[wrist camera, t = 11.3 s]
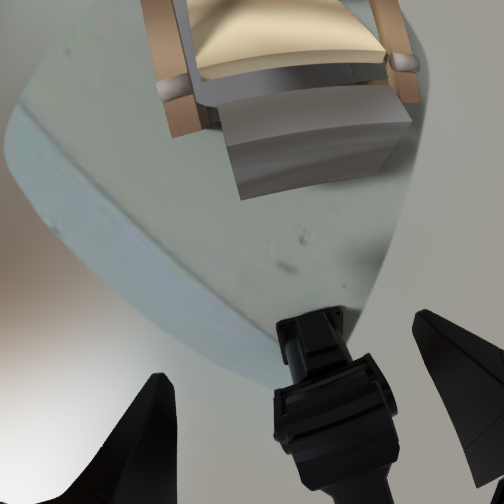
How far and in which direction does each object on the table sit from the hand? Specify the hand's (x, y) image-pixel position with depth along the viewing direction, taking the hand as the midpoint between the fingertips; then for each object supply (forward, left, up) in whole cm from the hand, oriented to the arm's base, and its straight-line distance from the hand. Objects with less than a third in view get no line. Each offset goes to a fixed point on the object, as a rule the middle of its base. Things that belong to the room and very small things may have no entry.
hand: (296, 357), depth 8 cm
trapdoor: (+8, -3, -11) cm, 14 cm away
